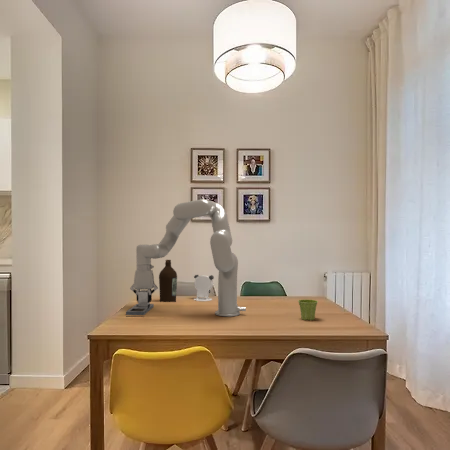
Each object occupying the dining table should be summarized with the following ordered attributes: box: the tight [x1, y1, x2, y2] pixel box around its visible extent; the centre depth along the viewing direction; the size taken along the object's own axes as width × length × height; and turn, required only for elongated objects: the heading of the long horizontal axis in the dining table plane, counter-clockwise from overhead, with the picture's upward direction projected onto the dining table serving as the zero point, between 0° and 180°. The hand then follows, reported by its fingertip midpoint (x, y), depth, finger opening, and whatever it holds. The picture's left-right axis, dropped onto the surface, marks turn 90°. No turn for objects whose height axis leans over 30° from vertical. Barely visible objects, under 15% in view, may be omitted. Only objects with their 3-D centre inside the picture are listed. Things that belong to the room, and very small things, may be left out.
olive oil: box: [158, 259, 178, 303], centre depth 240 cm, size 11×11×25 cm
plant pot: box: [297, 299, 319, 321], centre depth 196 cm, size 9×9×9 cm
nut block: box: [137, 289, 151, 307], centre depth 216 cm, size 5×5×8 cm
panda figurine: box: [193, 274, 215, 302], centre depth 250 cm, size 12×11×15 cm
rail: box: [125, 303, 154, 318], centre depth 210 cm, size 9×22×2 cm, turn 178°
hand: (144, 301), depth 216 cm, fingers closed on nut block, 5 cm apart
